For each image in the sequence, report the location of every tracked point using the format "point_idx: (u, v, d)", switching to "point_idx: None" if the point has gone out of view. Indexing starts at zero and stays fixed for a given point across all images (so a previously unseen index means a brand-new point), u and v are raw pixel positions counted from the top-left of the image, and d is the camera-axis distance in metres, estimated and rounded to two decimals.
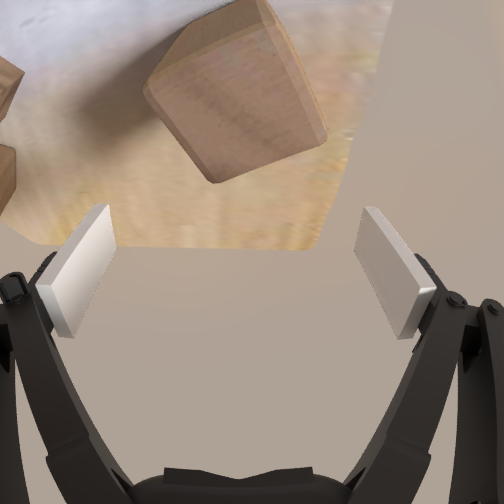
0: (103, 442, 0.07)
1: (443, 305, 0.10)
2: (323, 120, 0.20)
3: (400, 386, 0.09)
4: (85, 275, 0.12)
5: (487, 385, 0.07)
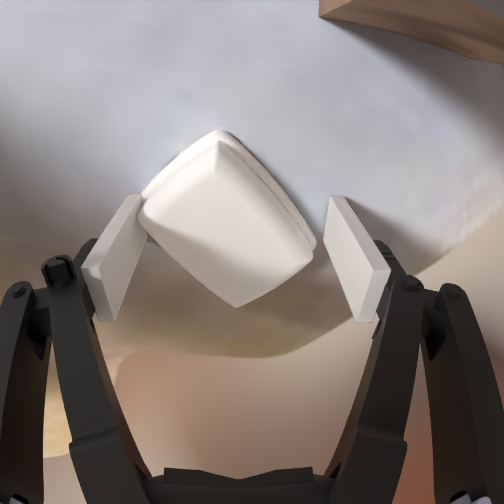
0: (130, 434, 0.08)
1: (397, 289, 0.10)
2: None
3: (364, 375, 0.09)
4: (124, 261, 0.13)
5: (457, 374, 0.08)
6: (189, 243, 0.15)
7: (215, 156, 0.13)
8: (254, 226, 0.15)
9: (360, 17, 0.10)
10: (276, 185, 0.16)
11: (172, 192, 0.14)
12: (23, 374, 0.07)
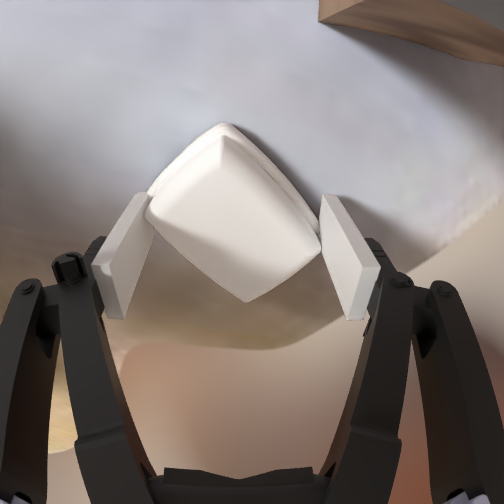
0: (137, 433, 0.08)
1: (387, 286, 0.10)
2: None
3: (356, 373, 0.09)
4: (133, 259, 0.14)
5: (450, 371, 0.08)
6: (197, 238, 0.15)
7: (220, 150, 0.13)
8: (261, 219, 0.15)
9: (357, 22, 0.11)
10: (282, 177, 0.16)
11: (178, 187, 0.14)
12: (30, 372, 0.07)
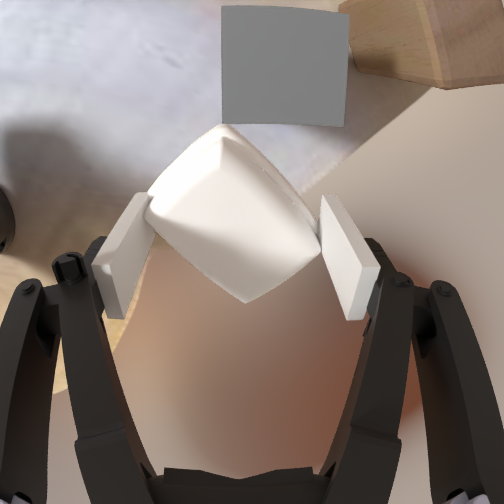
0: (137, 433, 0.08)
1: (387, 287, 0.10)
2: None
3: (356, 373, 0.09)
4: (133, 259, 0.14)
5: (449, 371, 0.08)
6: (197, 239, 0.15)
7: (220, 151, 0.13)
8: (261, 220, 0.15)
9: None
10: (281, 179, 0.16)
11: (178, 189, 0.14)
12: (30, 372, 0.07)
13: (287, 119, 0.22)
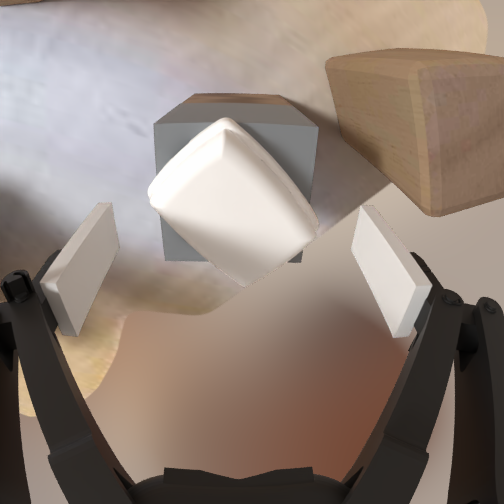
0: (106, 441, 0.07)
1: (438, 303, 0.10)
2: None
3: (397, 385, 0.09)
4: (88, 274, 0.12)
5: (484, 384, 0.07)
6: (200, 224, 0.16)
7: (222, 142, 0.14)
8: (260, 206, 0.16)
9: None
10: (279, 169, 0.17)
11: (183, 176, 0.15)
12: None
13: None
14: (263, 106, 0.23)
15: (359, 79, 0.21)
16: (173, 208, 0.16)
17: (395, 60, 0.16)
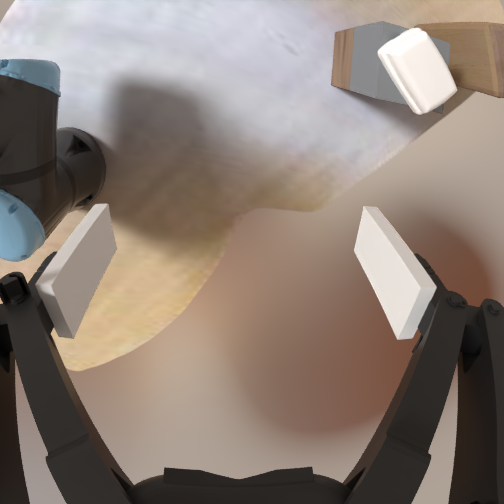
0: (103, 442, 0.07)
1: (443, 305, 0.10)
2: None
3: (400, 386, 0.09)
4: (85, 275, 0.12)
5: (487, 385, 0.07)
6: (415, 67, 0.25)
7: (426, 33, 0.23)
8: (439, 65, 0.24)
9: None
10: None
11: (410, 43, 0.24)
12: None
13: None
14: None
15: (448, 33, 0.30)
16: (405, 57, 0.24)
17: (473, 22, 0.24)
